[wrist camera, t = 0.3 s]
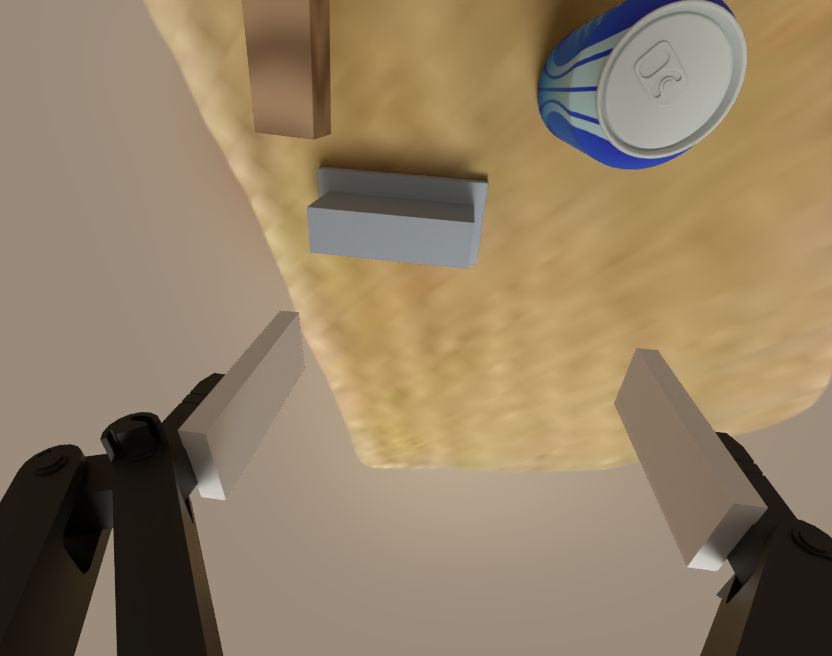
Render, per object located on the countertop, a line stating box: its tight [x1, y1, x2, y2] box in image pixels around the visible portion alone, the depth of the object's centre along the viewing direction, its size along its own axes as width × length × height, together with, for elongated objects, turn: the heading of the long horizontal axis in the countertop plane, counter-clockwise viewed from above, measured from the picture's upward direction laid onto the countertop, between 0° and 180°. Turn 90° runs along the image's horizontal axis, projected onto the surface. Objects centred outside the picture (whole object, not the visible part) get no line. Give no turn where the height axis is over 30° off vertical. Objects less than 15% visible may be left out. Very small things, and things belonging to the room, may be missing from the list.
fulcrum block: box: [307, 166, 488, 269], centre depth 37 cm, size 8×16×7 cm, turn 87°
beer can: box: [538, 0, 747, 169], centre depth 26 cm, size 8×8×16 cm
